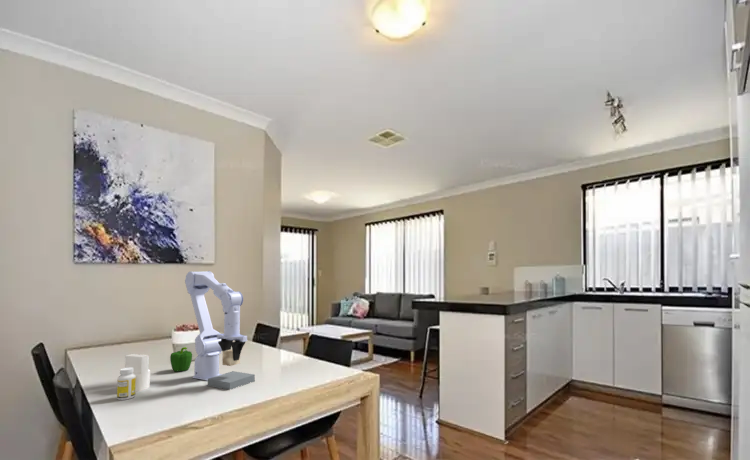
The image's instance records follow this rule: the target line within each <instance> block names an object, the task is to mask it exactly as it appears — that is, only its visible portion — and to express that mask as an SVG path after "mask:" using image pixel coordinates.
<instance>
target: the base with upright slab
mask: <svg viewBox="0 0 750 460" xmlns="http://www.w3.org/2000/svg"><path fill="white" fill-rule="evenodd" d="M149 358H150V355H149V354H140V353H138V354H137V353H130V354H125V355H124V368H129V367H133V368H134V371H133V374H135V376H136V384H135V393H137V392H140V391H144V390H147V389H149V388H150V387H151V369H149V363H150V359H149Z"/></svg>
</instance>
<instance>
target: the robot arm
mask: <svg viewBox="0 0 750 460" xmlns="http://www.w3.org/2000/svg"><path fill="white" fill-rule="evenodd" d="M184 283H185V287H186V291H187V293H188V294H189V296H190V299H191V300H190V301H191V304H192V308H193V311H194V315H195V319H196V324H197V327H198V330H199V333H198V334H197V336H196V337H195V339H194V343H195V348H194V349H195V352H196V354H197V356H196V358H195V359H194V375H193V376H192V378H193V379H196V380H201V381H202V380H204V381H206V382H208V379H209V378H212V377H215V376H219V375H222V374H223V373H220V354H222V353H223V351H226V350H230V349H232V350H233V360H234V361H236V360H239V357H240V358H241V353H242V350H243V348H244V346H245V344H246V342H248V335H243V334H241V331H240V329H241V328H240V327H241V321H240V320H241V307H242V305H243V304H244V303H243V302H244V295H243V293H242V292H241V291H238V290H237V291H234V290H233V288H231V287H229V286H228V285H227V283H225V282H221V283H220V282H219V281H218V280H217V279H216V278H215V274H214V273H213V272H212V271H210V270H207V271H206V270H204V271H188V272H187V273H186V275H185V280H184ZM210 289H211V290H212V293H213V295H214V296H215V297H217V298H218V299H219V300H220V302H221V305H222V311H223V314H224V319H223V323H224V326H223V333H220V331H218V330H216V329H214V328H213V327H214V326H213V324H212V319H211V315H210V312H209V309H208V308H209V307H208V305H207V302H206V298H205V295H206V294H207V293H208V292H210V291H209V290H210Z"/></svg>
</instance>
